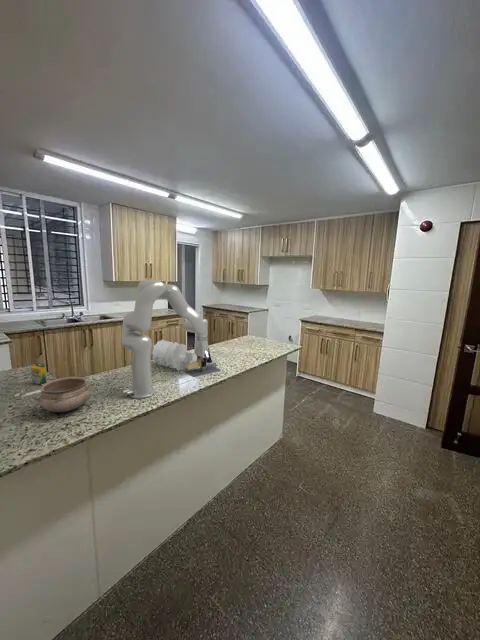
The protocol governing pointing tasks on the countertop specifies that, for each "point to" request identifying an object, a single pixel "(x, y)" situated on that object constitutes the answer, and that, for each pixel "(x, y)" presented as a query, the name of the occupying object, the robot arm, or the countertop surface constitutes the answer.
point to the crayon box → (38, 374)
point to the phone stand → (209, 357)
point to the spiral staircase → (171, 355)
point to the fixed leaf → (208, 366)
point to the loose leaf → (196, 364)
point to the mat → (197, 372)
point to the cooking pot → (64, 394)
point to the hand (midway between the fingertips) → (201, 365)
